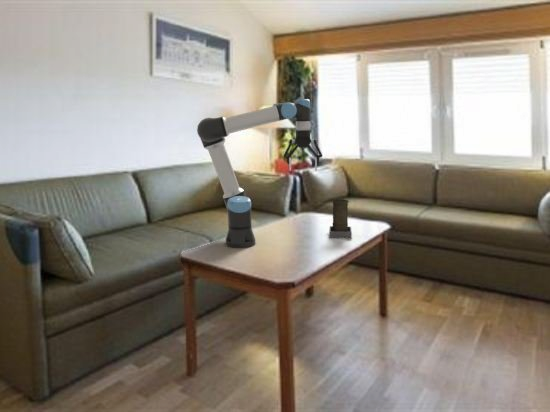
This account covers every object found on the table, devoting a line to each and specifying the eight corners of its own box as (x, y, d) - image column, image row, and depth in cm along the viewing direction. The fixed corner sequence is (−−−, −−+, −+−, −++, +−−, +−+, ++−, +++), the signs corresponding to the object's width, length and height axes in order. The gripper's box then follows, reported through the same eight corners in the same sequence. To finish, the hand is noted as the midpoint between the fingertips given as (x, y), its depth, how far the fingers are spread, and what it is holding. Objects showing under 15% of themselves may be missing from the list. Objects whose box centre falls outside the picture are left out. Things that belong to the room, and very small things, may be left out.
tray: (329, 237, 242) (329, 231, 241) (329, 232, 253) (329, 226, 253) (351, 238, 240) (351, 231, 240) (350, 232, 252) (351, 226, 251)
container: (348, 236, 241) (348, 202, 238) (330, 235, 243) (331, 201, 240) (349, 231, 250) (349, 199, 247) (332, 231, 252) (332, 198, 248)
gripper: (278, 130, 238) (278, 171, 242) (327, 129, 234) (326, 171, 238) (280, 129, 245) (280, 169, 249) (327, 129, 242) (327, 169, 246)
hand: (303, 170), depth 244 cm, fingers open, 13 cm apart
